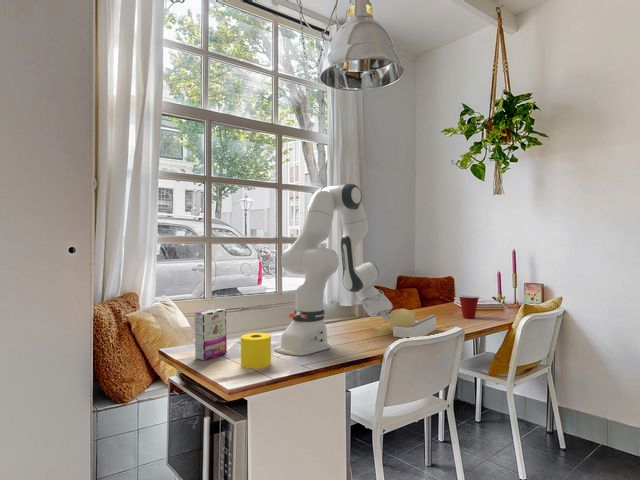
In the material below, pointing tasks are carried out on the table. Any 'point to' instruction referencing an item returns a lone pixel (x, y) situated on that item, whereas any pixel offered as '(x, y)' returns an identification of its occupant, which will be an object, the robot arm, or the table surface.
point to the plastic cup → (468, 306)
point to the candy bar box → (210, 334)
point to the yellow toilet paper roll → (255, 350)
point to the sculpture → (402, 318)
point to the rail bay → (416, 328)
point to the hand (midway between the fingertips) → (389, 320)
